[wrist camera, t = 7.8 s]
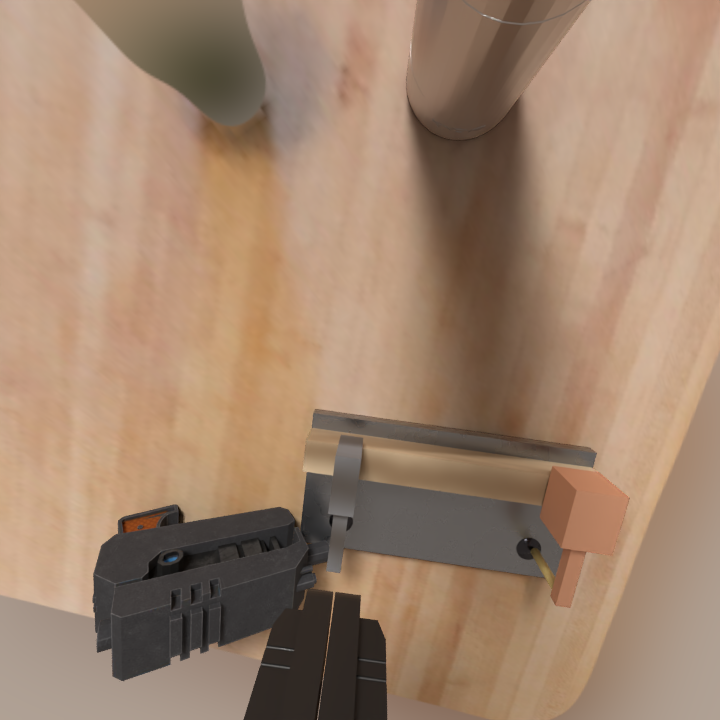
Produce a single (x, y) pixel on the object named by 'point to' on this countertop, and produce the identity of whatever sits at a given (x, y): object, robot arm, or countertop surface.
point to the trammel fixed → (416, 473)
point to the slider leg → (578, 524)
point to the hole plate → (439, 504)
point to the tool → (196, 583)
